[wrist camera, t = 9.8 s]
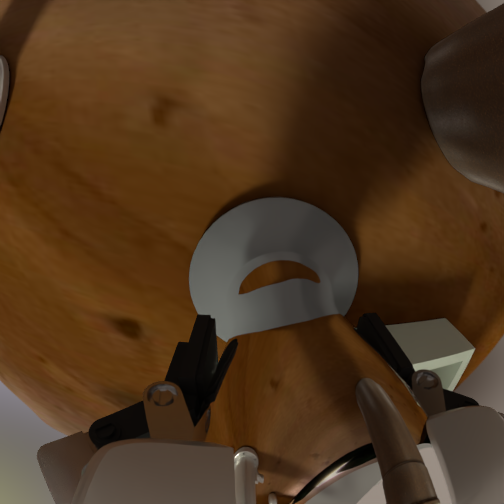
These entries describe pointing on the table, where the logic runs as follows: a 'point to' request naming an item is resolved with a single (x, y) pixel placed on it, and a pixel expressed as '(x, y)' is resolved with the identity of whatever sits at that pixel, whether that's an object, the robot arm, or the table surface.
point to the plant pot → (469, 98)
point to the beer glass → (313, 400)
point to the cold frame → (434, 348)
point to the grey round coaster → (268, 251)
